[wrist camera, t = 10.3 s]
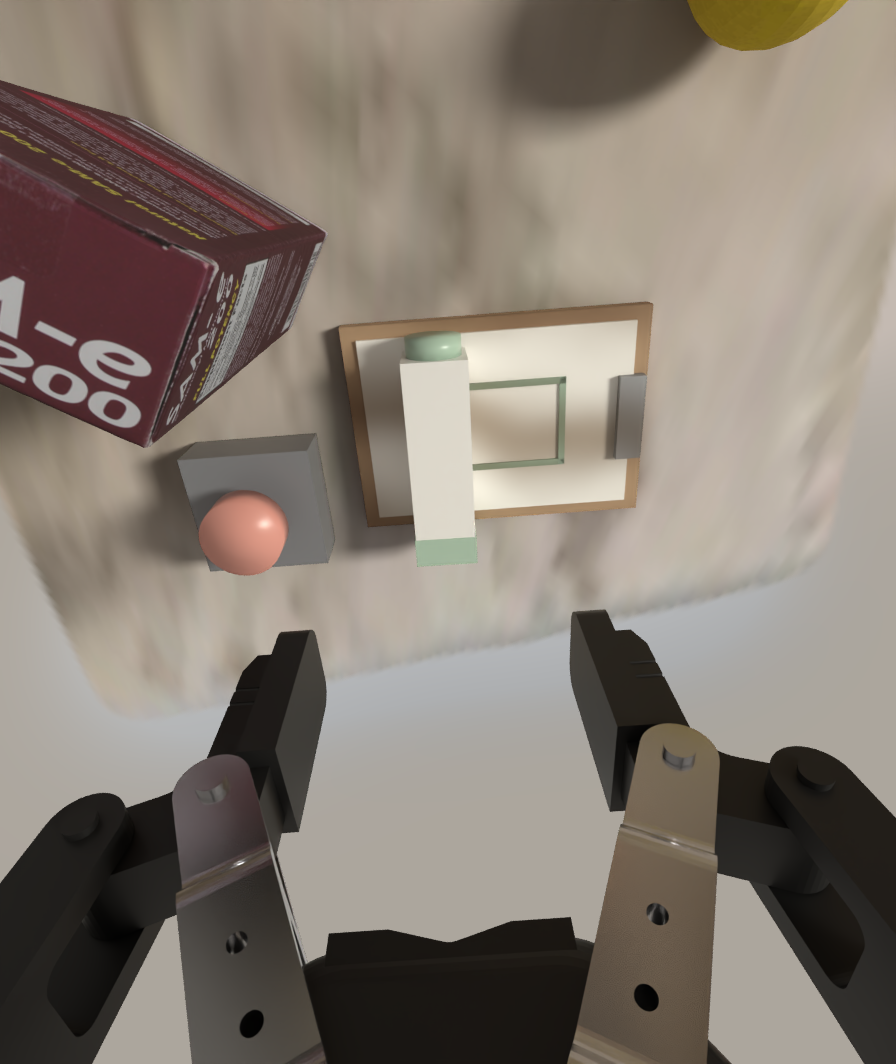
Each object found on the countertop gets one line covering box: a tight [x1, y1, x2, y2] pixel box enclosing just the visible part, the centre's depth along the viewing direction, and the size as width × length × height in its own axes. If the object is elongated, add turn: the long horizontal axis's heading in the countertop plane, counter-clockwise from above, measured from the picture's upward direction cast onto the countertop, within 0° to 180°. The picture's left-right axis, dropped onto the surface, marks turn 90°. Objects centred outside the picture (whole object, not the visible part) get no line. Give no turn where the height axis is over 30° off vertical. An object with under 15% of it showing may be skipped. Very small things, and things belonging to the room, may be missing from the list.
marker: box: [400, 331, 477, 567], centre depth 27 cm, size 3×3×10 cm
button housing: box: [177, 433, 335, 571], centre depth 30 cm, size 6×6×2 cm
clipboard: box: [339, 302, 653, 527], centre depth 29 cm, size 10×14×1 cm
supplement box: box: [0, 80, 328, 448], centre depth 18 cm, size 9×5×16 cm, turn 61°
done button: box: [199, 490, 289, 575], centre depth 27 cm, size 4×4×2 cm
